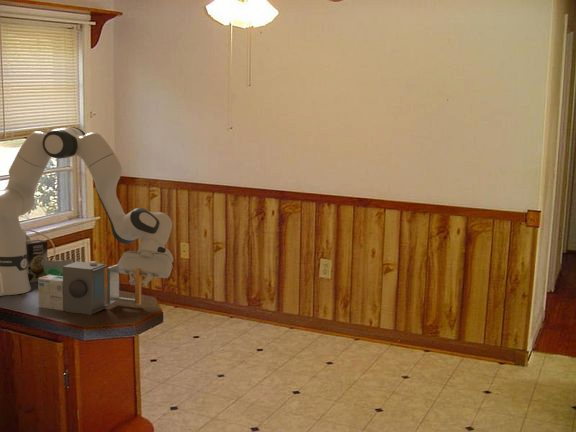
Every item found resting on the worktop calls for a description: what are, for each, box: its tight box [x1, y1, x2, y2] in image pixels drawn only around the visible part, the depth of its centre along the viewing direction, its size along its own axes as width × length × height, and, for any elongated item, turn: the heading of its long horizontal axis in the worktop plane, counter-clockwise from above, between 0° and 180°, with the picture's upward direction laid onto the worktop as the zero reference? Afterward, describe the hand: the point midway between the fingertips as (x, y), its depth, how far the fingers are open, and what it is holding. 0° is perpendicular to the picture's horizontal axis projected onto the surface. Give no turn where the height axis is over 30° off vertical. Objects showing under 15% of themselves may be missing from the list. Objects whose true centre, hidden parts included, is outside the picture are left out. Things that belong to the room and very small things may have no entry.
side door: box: [106, 263, 142, 306], centre depth 267 cm, size 10×6×14 cm, turn 73°
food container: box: [41, 258, 74, 276], centre depth 296 cm, size 12×6×10 cm, turn 103°
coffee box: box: [26, 239, 48, 284], centre depth 301 cm, size 9×6×16 cm
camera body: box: [63, 260, 109, 316], centre depth 261 cm, size 12×11×17 cm
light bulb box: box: [37, 275, 64, 312], centre depth 265 cm, size 11×7×11 cm, turn 70°
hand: (137, 284), depth 267 cm, fingers open, 3 cm apart
